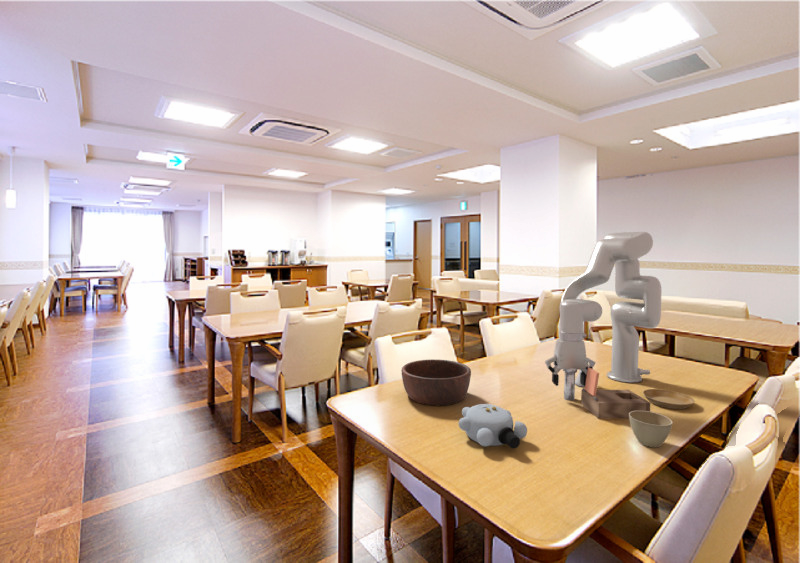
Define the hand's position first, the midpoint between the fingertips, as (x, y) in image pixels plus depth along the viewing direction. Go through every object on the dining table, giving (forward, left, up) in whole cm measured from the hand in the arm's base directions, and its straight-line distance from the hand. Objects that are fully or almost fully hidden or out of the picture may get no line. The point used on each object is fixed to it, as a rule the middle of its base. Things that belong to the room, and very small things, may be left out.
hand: (569, 384), depth 141 cm
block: (-10, +11, -5) cm, 16 cm away
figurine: (+34, +30, -5) cm, 45 cm away
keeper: (-2, +11, +5) cm, 12 cm away
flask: (-12, -15, -5) cm, 20 cm away
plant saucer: (-32, +4, -6) cm, 33 cm away
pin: (0, 0, -5) cm, 5 cm away
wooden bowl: (+47, -3, -5) cm, 47 cm away
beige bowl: (-8, +33, -5) cm, 34 cm away
